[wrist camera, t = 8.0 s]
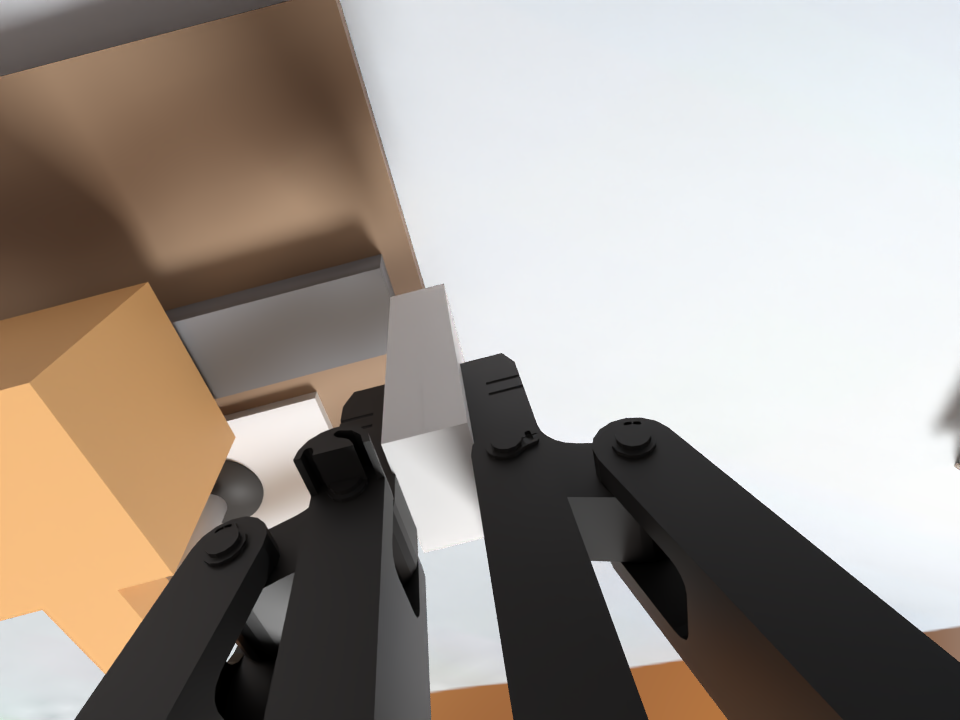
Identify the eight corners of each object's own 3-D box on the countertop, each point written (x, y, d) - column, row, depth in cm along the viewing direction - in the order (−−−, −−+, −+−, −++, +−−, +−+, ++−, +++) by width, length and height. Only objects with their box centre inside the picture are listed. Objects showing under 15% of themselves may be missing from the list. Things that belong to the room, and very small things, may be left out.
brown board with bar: (-503, 216, 16) (-1392, 363, 8) (338, -5, 16) (275, -75, 8) (-74, 598, 25) (-302, 852, 17) (474, 453, 25) (508, 638, 17)
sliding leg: (-3, 317, 17) (-208, 445, 11) (154, 275, 17) (28, 382, 11) (156, 533, 22) (68, 700, 16) (279, 500, 22) (235, 656, 16)
